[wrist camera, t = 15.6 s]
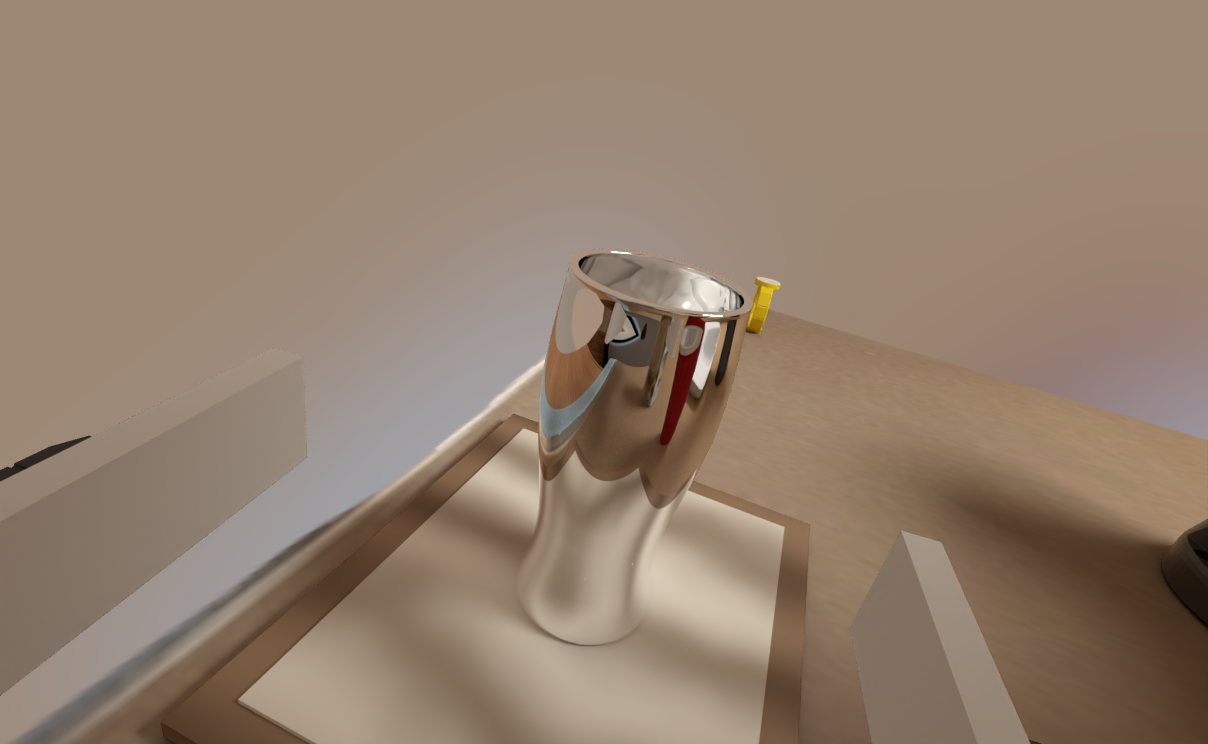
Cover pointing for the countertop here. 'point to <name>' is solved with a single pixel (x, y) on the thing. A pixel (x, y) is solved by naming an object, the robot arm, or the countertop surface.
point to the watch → (761, 303)
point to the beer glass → (623, 431)
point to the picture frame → (523, 633)
